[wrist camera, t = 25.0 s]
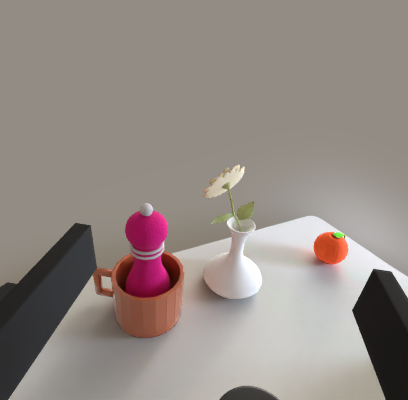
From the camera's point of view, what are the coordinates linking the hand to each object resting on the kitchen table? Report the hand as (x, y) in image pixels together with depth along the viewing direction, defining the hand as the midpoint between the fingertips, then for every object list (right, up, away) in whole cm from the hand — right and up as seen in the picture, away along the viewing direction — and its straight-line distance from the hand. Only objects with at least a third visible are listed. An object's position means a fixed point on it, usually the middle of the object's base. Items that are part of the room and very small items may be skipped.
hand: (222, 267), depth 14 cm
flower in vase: (+4, -13, +42) cm, 45 cm away
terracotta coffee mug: (-12, -15, +36) cm, 41 cm away
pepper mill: (-10, -15, +35) cm, 40 cm away
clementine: (+27, -10, +51) cm, 59 cm away
